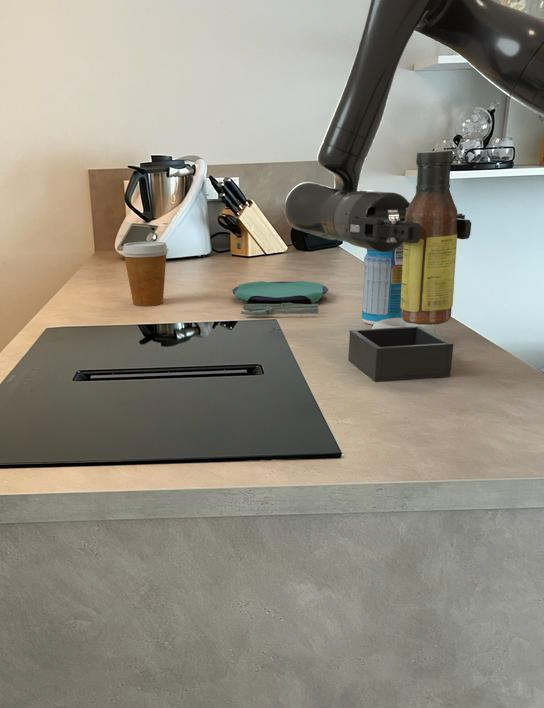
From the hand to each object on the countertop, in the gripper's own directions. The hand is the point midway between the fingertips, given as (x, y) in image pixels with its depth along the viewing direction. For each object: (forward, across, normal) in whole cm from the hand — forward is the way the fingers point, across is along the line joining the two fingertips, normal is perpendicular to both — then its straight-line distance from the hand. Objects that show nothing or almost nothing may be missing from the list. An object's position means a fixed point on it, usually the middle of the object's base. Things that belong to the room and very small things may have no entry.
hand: (442, 231), depth 92 cm
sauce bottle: (-2, 0, +11) cm, 11 cm away
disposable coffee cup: (-77, -17, +21) cm, 82 cm away
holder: (-12, +2, +20) cm, 23 cm away
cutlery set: (-65, +7, +20) cm, 68 cm away
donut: (-24, +11, +20) cm, 33 cm away
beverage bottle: (-39, +17, +20) cm, 47 cm away
